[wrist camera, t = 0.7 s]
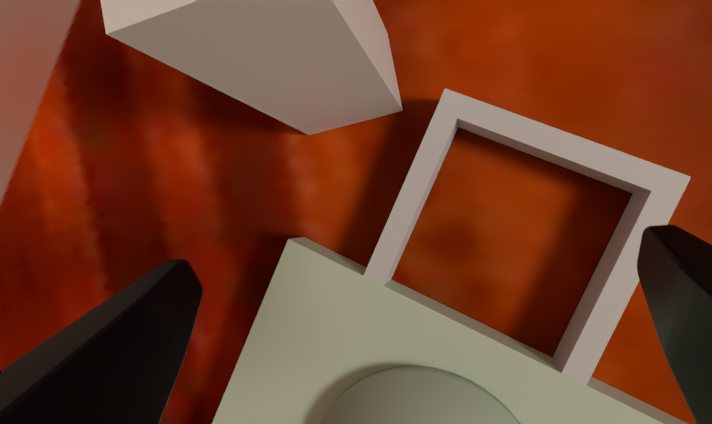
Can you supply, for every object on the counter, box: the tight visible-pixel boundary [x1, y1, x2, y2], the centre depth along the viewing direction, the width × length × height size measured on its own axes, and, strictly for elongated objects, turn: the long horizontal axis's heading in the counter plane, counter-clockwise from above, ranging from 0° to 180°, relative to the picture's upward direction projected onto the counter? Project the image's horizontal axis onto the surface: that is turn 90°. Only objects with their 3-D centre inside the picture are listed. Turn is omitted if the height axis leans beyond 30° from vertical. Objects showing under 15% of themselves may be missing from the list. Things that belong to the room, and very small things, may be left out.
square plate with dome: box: [212, 89, 691, 424], centre depth 19 cm, size 23×20×3 cm
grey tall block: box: [101, 0, 403, 135], centre depth 16 cm, size 4×5×13 cm
